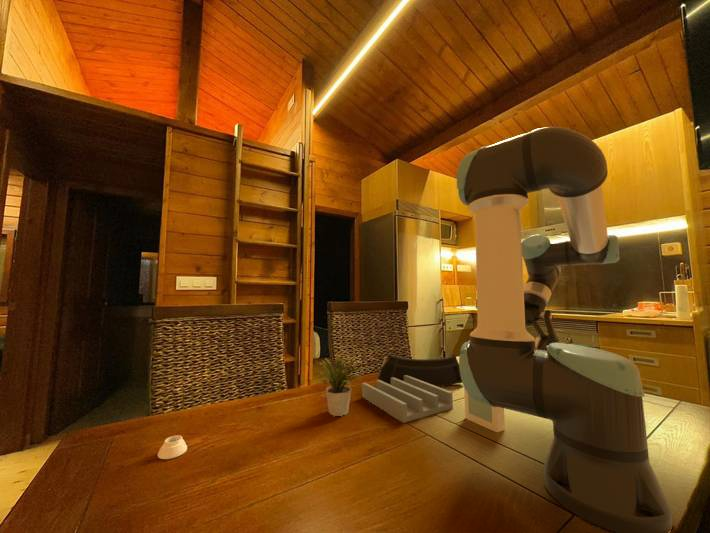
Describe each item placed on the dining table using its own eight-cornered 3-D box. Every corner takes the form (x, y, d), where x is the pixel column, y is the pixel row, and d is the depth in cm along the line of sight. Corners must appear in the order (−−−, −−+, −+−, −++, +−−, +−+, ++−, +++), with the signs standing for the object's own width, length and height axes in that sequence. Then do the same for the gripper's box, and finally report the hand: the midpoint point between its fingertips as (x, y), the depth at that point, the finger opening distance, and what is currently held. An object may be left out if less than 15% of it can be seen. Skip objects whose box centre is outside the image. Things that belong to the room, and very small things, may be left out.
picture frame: (472, 415, 76) (471, 369, 77) (504, 429, 68) (502, 378, 69) (464, 418, 74) (463, 371, 75) (496, 432, 66) (494, 380, 68)
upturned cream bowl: (176, 445, 61) (152, 457, 57) (177, 431, 61) (153, 442, 57) (192, 450, 59) (168, 463, 54) (193, 435, 59) (169, 447, 55)
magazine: (466, 358, 104) (389, 334, 103) (470, 360, 101) (390, 336, 100) (454, 404, 102) (375, 381, 101) (458, 408, 99) (377, 384, 98)
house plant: (339, 432, 66) (339, 361, 68) (299, 417, 75) (300, 353, 76) (373, 412, 78) (372, 351, 79) (335, 400, 86) (335, 346, 88)
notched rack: (406, 388, 97) (406, 374, 98) (452, 408, 80) (452, 392, 81) (362, 397, 88) (362, 383, 89) (403, 423, 71) (403, 404, 72)
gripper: (586, 310, 77) (562, 375, 68) (500, 307, 99) (473, 355, 90) (575, 291, 75) (550, 355, 66) (489, 291, 97) (461, 340, 88)
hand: (506, 355), depth 78 cm, fingers open, 13 cm apart
